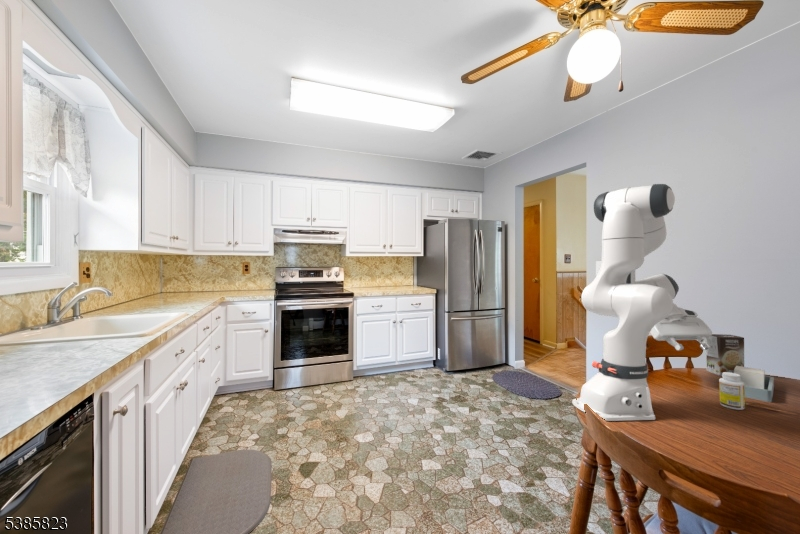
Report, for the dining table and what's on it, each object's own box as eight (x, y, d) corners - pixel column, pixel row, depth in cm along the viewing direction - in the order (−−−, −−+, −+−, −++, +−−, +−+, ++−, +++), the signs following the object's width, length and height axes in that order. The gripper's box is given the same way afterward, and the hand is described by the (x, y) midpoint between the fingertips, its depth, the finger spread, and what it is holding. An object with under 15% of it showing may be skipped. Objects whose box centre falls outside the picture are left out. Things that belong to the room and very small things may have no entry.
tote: (771, 405, 101) (771, 391, 101) (722, 395, 110) (722, 382, 110) (773, 389, 114) (773, 377, 114) (729, 381, 122) (729, 369, 122)
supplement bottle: (731, 402, 104) (731, 371, 104) (750, 410, 98) (749, 376, 98) (714, 403, 104) (713, 371, 104) (732, 410, 98) (731, 377, 98)
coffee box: (719, 378, 126) (719, 337, 127) (706, 372, 133) (705, 333, 133) (745, 378, 126) (744, 337, 126) (730, 373, 132) (729, 334, 132)
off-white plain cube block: (763, 391, 110) (763, 374, 110) (734, 386, 115) (734, 369, 115) (765, 387, 114) (764, 370, 114) (736, 381, 119) (736, 365, 119)
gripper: (647, 312, 120) (670, 345, 111) (699, 311, 121) (727, 343, 111) (638, 322, 125) (659, 354, 115) (688, 321, 126) (714, 353, 116)
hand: (693, 349), depth 113 cm, fingers open, 8 cm apart
